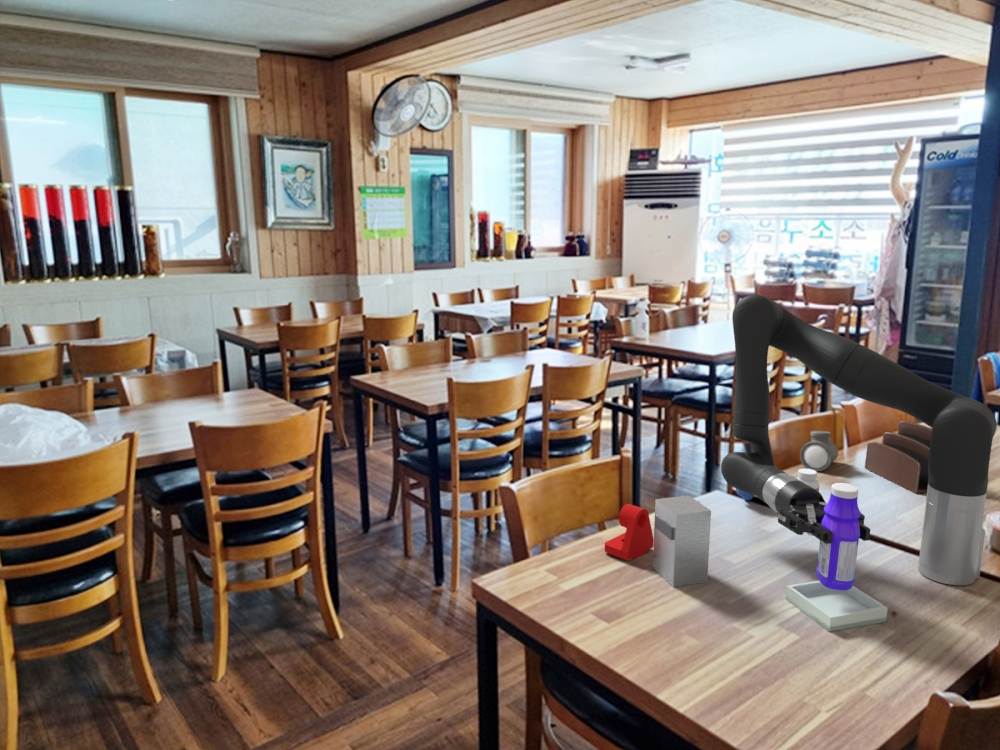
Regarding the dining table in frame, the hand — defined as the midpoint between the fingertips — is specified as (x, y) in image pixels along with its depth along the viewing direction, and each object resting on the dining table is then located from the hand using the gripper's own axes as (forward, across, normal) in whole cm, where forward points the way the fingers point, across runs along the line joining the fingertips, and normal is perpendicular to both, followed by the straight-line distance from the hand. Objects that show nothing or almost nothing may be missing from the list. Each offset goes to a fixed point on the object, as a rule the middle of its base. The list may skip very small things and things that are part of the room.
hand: (848, 536), depth 121 cm
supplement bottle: (-43, +21, +15) cm, 50 cm away
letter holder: (-57, +59, +15) cm, 83 cm away
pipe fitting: (-71, +44, +16) cm, 85 cm away
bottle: (-2, 0, +10) cm, 10 cm away
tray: (-2, 0, +14) cm, 15 cm away
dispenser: (-19, -20, +15) cm, 32 cm away
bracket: (-31, -26, +15) cm, 43 cm away
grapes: (-51, +12, +15) cm, 55 cm away
